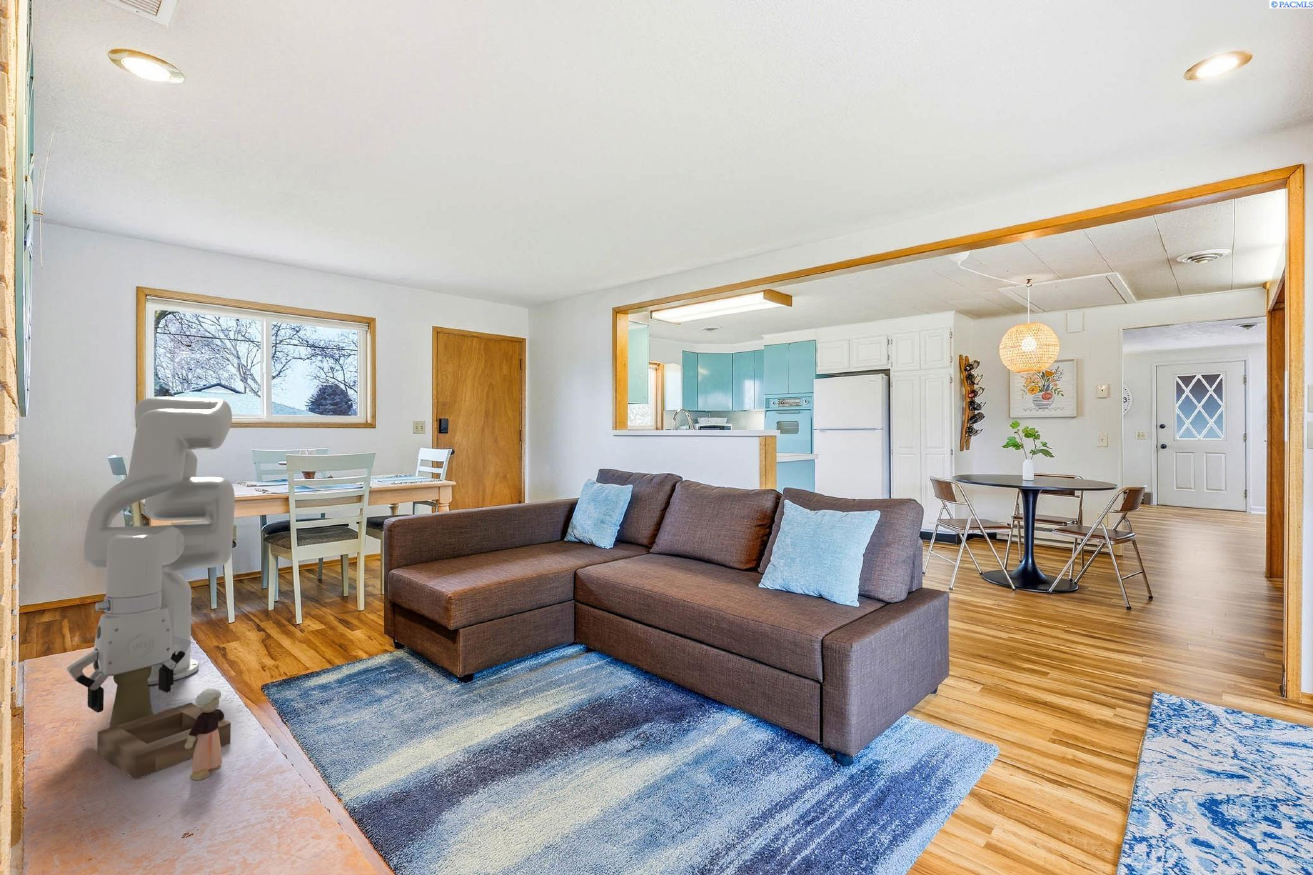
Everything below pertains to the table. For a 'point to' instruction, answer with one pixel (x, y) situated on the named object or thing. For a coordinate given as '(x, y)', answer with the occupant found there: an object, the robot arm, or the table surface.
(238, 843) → the table surface
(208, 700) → the grandmother figurine
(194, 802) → the table surface
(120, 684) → the cork
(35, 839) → the table surface
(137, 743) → the socket block
